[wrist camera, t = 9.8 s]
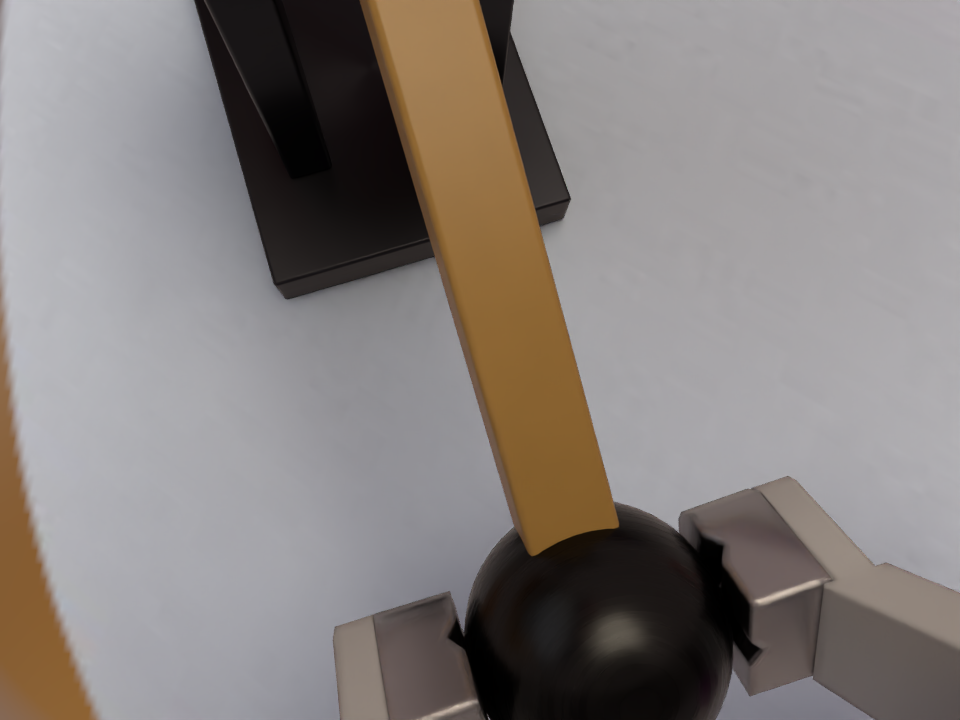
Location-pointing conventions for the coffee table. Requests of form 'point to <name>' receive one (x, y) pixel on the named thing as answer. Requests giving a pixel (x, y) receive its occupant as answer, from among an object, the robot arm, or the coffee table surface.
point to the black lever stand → (341, 137)
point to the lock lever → (539, 421)
